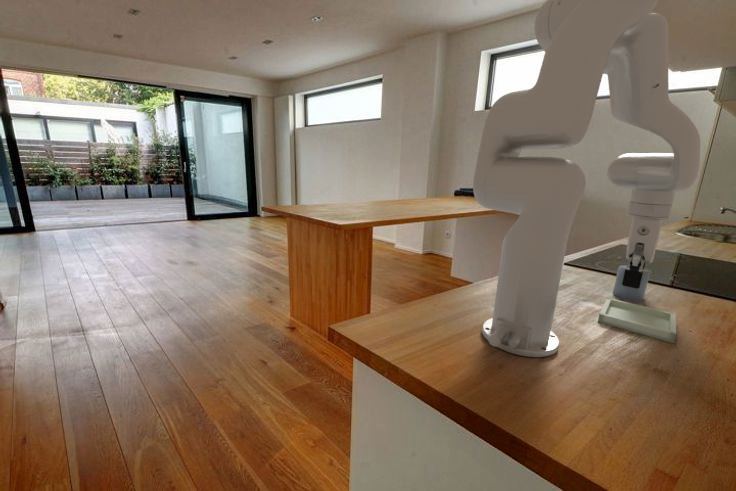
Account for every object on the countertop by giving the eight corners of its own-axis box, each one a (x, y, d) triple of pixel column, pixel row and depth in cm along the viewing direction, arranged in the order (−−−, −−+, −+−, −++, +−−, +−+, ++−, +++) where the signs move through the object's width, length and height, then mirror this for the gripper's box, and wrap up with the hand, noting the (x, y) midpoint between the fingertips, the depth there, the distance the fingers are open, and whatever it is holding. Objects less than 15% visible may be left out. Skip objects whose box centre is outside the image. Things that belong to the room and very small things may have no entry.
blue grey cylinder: (642, 303, 78) (649, 275, 76) (611, 296, 82) (617, 269, 80) (643, 296, 82) (650, 269, 81) (614, 289, 86) (620, 263, 84)
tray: (673, 343, 61) (676, 334, 60) (597, 322, 68) (599, 313, 68) (673, 321, 69) (675, 313, 69) (605, 304, 77) (607, 297, 76)
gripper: (670, 217, 68) (650, 296, 73) (670, 208, 81) (653, 275, 85) (624, 213, 73) (608, 287, 77) (631, 205, 86) (617, 269, 90)
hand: (632, 281), depth 81 cm, fingers open, 9 cm apart
